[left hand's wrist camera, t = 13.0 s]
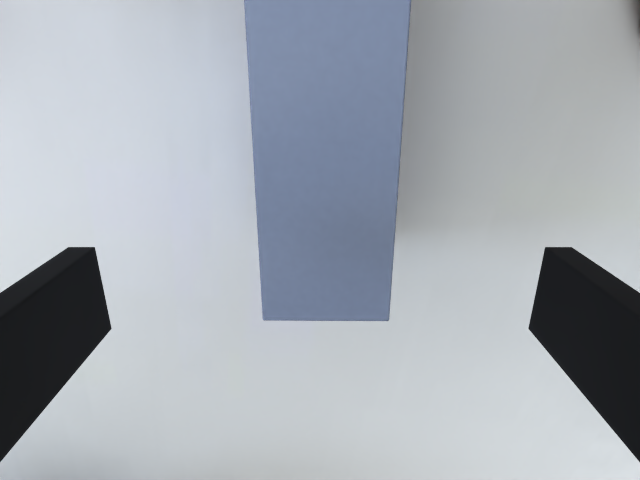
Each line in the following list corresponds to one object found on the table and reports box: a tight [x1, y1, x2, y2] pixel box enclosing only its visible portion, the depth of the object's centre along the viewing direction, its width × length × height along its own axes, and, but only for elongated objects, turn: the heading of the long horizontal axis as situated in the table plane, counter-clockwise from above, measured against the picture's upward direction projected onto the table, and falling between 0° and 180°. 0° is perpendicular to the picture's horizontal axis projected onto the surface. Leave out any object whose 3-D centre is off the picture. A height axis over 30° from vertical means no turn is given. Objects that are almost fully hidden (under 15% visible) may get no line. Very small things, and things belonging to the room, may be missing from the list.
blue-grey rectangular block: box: [244, 0, 411, 321], centre depth 20 cm, size 16×5×10 cm, turn 0°
